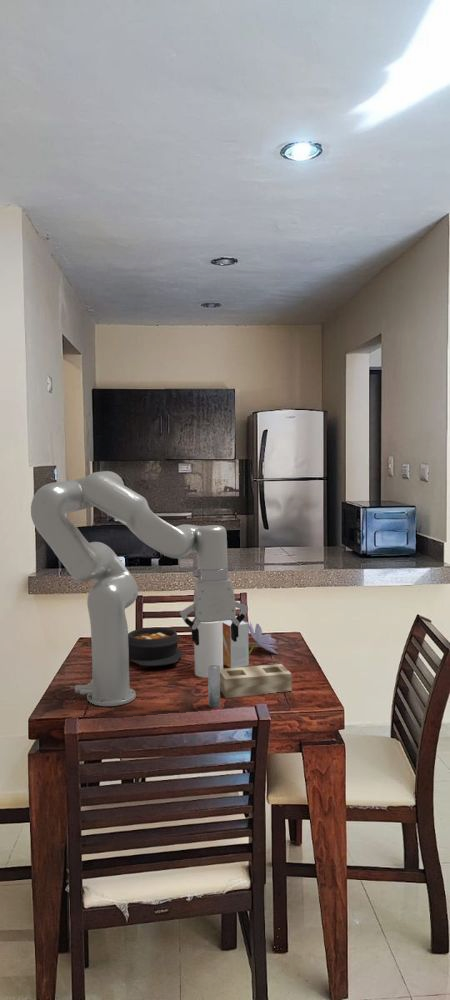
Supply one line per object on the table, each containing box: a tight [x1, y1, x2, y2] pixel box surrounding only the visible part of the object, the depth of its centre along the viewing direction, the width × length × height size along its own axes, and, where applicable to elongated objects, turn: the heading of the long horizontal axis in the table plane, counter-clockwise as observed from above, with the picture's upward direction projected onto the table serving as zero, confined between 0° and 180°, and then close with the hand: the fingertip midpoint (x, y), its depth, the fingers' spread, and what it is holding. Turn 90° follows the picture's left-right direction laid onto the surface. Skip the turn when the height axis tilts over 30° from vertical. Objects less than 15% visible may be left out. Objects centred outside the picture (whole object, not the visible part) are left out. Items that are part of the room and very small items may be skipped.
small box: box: [222, 620, 250, 668], centre depth 221 cm, size 8×6×13 cm
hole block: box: [220, 663, 293, 699], centre depth 198 cm, size 18×9×5 cm, turn 103°
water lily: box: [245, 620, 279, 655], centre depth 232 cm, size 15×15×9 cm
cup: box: [193, 621, 224, 679], centre depth 212 cm, size 8×8×16 cm
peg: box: [207, 665, 221, 709], centre depth 186 cm, size 3×3×10 cm
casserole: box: [128, 627, 184, 667], centre depth 226 cm, size 25×19×8 cm
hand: (215, 642), depth 185 cm, fingers open, 9 cm apart
